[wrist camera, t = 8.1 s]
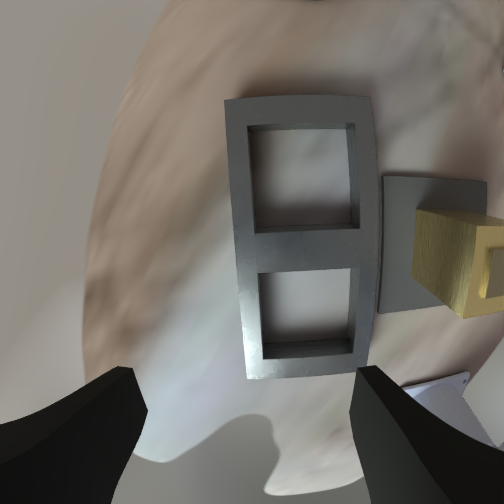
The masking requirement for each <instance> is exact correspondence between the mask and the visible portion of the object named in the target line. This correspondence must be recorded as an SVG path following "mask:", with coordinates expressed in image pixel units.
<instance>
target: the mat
mask: <svg viewBox="0 0 504 504" xmlns="http://www.w3.org/2000/svg"><path fill="white" fill-rule="evenodd" d="M381 185H382V248H381V269H380V284H379V296H378V307H377V312H378V313H379V314H382V313H390V312H399V311H407V310H414V309H421V308H428V307H435V306H441V305H445V304H444V303H443V302H442V301H441V300H439V299H438V298H437V297H436V296H434V295H433V294H432V293H431V292H430V291H428V290H427V289H426V288H425V287H423V286H422V285H421V284H420V283H418V282H417V281H416V280H414V279H413V278H412V277H411V272H412V262H413V251H414V236H415V211H416V209H440V210H466V211H471V212H475V213H479V214H483V215H486V207H487V182H480V181H469V180H457V179H443V178H426V177H402V176H381Z"/></svg>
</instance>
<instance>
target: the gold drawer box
mask: <svg viewBox="0 0 504 504" xmlns="http://www.w3.org/2000/svg"><path fill="white" fill-rule="evenodd" d="M411 277H412V278H413V279H414V280H416V281H417V282H418V283H420V284H421V285H422V286H423V287H425V288H426V289H427V290H428V291H430V292H431V293H432V294H433V295H434V296H436V297H437V298H438V299H439V300H441V301H442V302H443V303H444V304H445V305H447V306H448V307H449V308H450V309H451V310H452V311H454V312H455V313H456V314H457V315H458V316H459V317H461V318H462V319H466V318H471V317H476V316H481V315H486V314H491V313H495V312H499V311H504V220H503V219H499V218H495V217H491V216H487V215H483V214H479V213H475V212H471V211H466V210H440V209H416V211H415V236H414V251H413V262H412V272H411Z"/></svg>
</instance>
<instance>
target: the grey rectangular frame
mask: <svg viewBox="0 0 504 504" xmlns="http://www.w3.org/2000/svg"><path fill="white" fill-rule="evenodd" d="M224 106H225V121H226V136H227V151H228V165H229V179H230V192H231V205H232V218H233V230H234V242H235V254H236V265H237V277H238V288H239V299H240V309H241V320H242V330H243V340H244V351H245V360H246V370H247V379H269V378H293V377H309V376H322V375H333V374H342V373H351V372H356V371H357V368H358V367H366V366H367V360H368V354H369V347H370V340H371V332H372V324H373V315H374V305H375V293H376V280H377V263H378V231H379V205H378V173H377V157H376V143H375V132H374V123H373V114H372V106H371V99H370V97H363V96H346V95H281V96H263V97H249V98H239V99H229V100H224ZM290 129H346V134H347V145H348V159H349V175H350V199H351V223H347V224H322V225H299V226H279V227H260V228H256V214H255V199H254V185H253V170H252V156H251V143H250V132H254V131H269V130H290ZM343 268H351V272H350V296H349V312H348V326H347V338H342V339H331V340H318V341H303V342H285V343H264V336H263V320H262V304H261V289H260V273H269V272H290V271H309V270H326V269H343Z"/></svg>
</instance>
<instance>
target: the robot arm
mask: <svg viewBox="0 0 504 504" xmlns="http://www.w3.org/2000/svg"><path fill="white" fill-rule="evenodd" d="M469 377H470V373H469V372H468V371H466V372H462V373H459V374H456V375H452V376H449V377H445V378H441V379H438V380H434V381H430V382H426V383H422V384H417V385H413V386H408V387H403V388H401V387H400V386H398V385H397V384H396V383H395V382H394V381H393V380H392V379H391V378H389V377H388V376H387V375H386V374H385V373H384V372H383V371H382V370H381V369H379V368H378V367H377V366H376V365H373V366H366V367H358V368H357V371H356V378H355V384H354V390H353V395H352V401H351V406H350V411H349V414H350V421H351V427H352V433H353V439H354V442H355V446H356V449H357V452H358V456H359V459H360V463H361V466H362V469H363V473H364V476H365V480H366V483H367V487H368V490H369V495H370V499H371V504H504V442H503V443H502V444H501V445H500V446H499V447H496V446H495V445H494V443H493V442H492V440H491V439H490V437H489V436H488V434H487V432H486V431H485V430H484V428H483V426H482V425H481V423H480V422H479V420H478V419H477V417H476V416H475V415H474V413H473V411H472V410H471V409H470V407H469V406H468V404H467V403H466V402H465V400H464V398H463V397H462V394H463V392H464V390H465V387H466V385H467V382H468V380H469ZM147 413H148V409H147V407H146V404H145V402H144V399H143V396H142V394H141V391H140V388H139V386H138V383H137V380H136V377H135V374H134V371H133V368H128V367H120V366H117V367H115V368H113V369H111V370H110V371H108V372H106V373H104V374H103V375H101V376H99V377H98V378H96V379H95V380H93V381H91V382H90V383H88V384H86V385H85V386H83V387H82V388H80V389H78V390H77V391H75V392H73V393H72V394H70V395H68V396H66V397H65V398H63V399H61V400H59V401H57V402H55V403H54V404H52V405H50V406H48V407H46V408H44V409H42V410H40V411H38V412H35V413H33V414H31V415H28V416H25V417H23V418H20V419H18V420H14V421H11V422H7V423H4V424H0V504H111V501H112V498H113V495H114V492H115V489H116V486H117V484H118V481H119V479H120V477H121V475H122V473H123V471H124V468H125V467H126V464H127V462H128V460H129V458H130V456H131V454H132V452H133V450H134V448H135V446H136V444H137V442H138V439H139V437H140V435H141V432H142V429H143V426H144V423H145V420H146V416H147Z"/></svg>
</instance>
